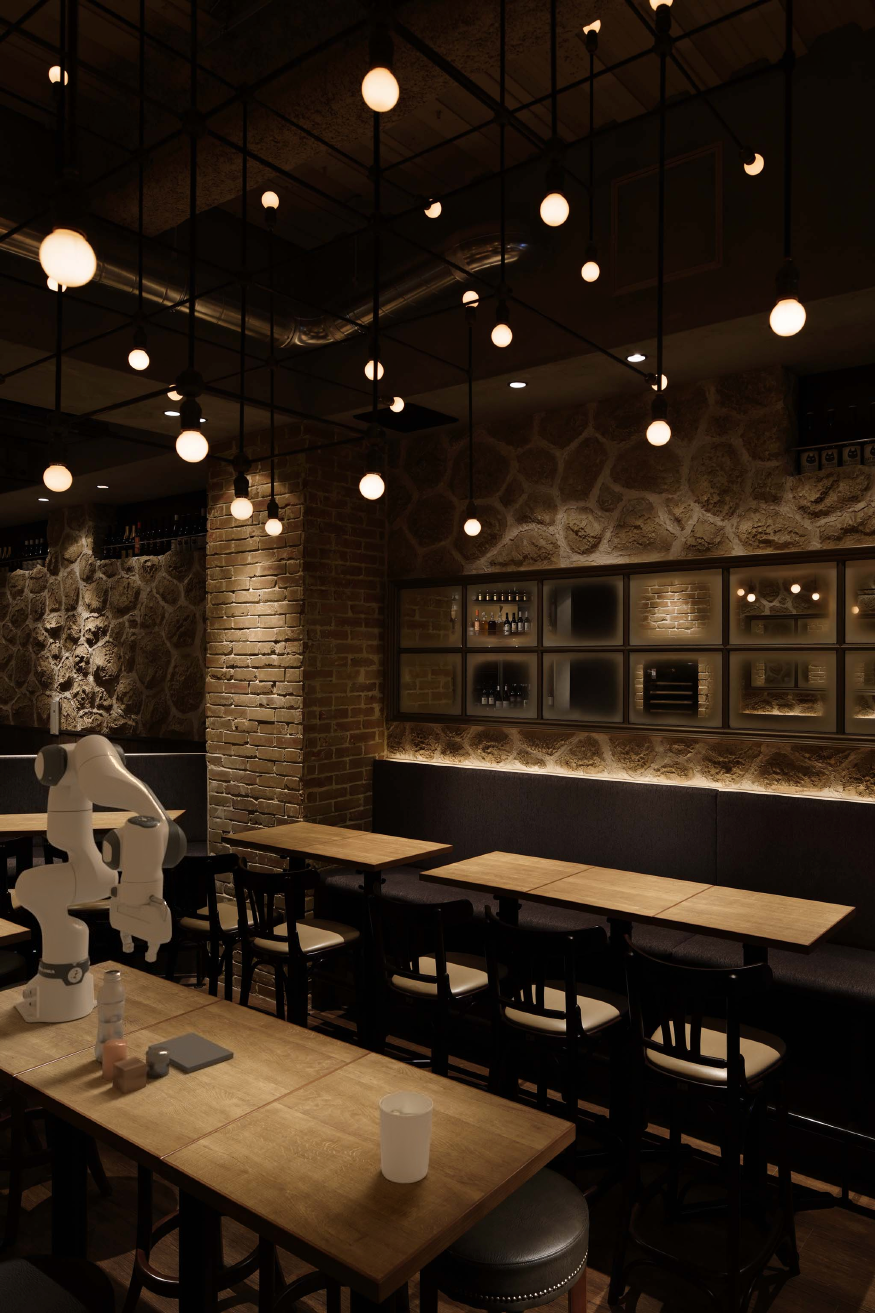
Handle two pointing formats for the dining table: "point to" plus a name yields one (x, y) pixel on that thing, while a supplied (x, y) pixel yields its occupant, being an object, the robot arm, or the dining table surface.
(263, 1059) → the dining table surface
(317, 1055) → the dining table surface
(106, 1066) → the terracotta jar
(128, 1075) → the walnut block
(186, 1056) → the charcoal board
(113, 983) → the plastic bottle
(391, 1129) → the candle holder
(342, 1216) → the dining table surface
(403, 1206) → the dining table surface
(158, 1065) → the dark metal tin
